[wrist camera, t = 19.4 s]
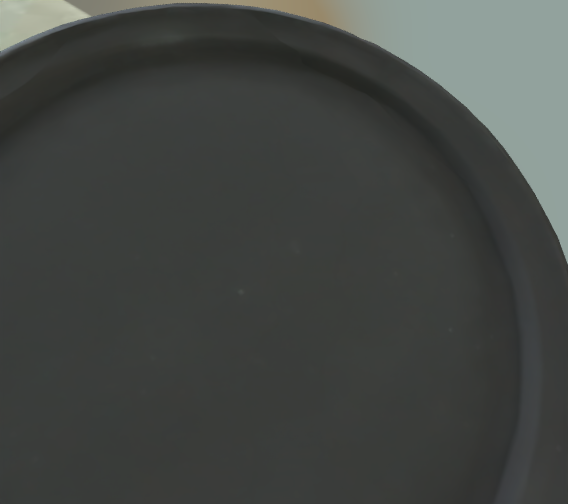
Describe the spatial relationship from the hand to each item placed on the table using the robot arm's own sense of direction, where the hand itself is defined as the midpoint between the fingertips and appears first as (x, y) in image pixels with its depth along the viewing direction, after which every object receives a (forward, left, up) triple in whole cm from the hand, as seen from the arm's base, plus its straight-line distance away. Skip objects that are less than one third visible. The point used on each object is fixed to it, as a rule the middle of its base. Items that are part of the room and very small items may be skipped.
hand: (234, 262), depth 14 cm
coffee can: (-1, +3, -6) cm, 6 cm away
